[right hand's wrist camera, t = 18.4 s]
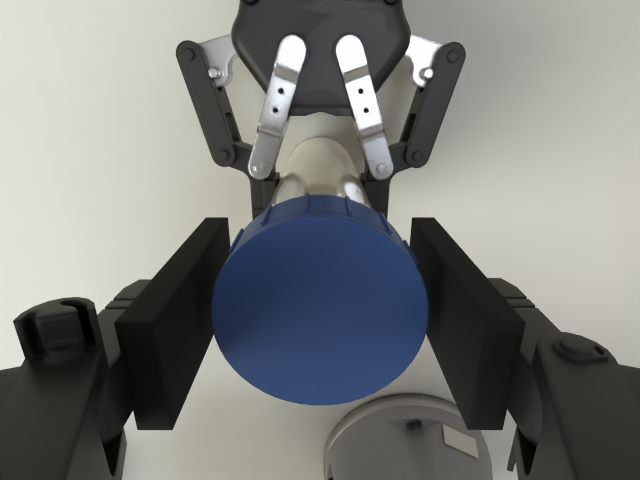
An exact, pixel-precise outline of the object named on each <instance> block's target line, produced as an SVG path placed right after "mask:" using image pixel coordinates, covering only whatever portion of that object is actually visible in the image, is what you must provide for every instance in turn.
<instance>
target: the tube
mask: <svg viewBox="0 0 640 480" xmlns="http://www.w3.org/2000/svg"><path fill="white" fill-rule="evenodd" d="M305 193H309V195H333V196H340V197H344V198H345V196H346V195H347V196H349V197H350V199H351V200H354V201H357V202H359V203H361V204H364V205H366V206H367V207H369V208H371V209H373V208H372V206H371V204H370V201H369V199H368V197H367V194H366V192H365V190H364V187H363V185H362V183H361V180H360V178H359V176H358V174H357V171H356V169H355V167H354V164H353V162H352V160H351V157H350V155H349V153H348V152H347V150H346V149H345V148H344V147H343V146H342V145H341V144H340V143H338V142H336V141H335V140H332V139H329V138H325V137H315V138H311V139H308V140H305V141H304V142H302V143H301V144H299V145H298V146H297V147H296V148H295V149H294V150H293V152H292V154H291V155H290V157H289V160H288V162H287V164H286V167H285V169H284V171H283V173H282V176H281V178H280V180H279V183H278V185H277V187H276V190H275V192H274V194H273V196H272V199H271V201H270V203H269V205H270V204H271V205H272V206H274V205H276V204H278V203H281V202H283V201H286V200H288V199H292V198H296V197H300V196H305Z"/></svg>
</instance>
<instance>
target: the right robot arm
mask: <svg viewBox="0 0 640 480" xmlns="http://www.w3.org/2000/svg"><path fill="white" fill-rule="evenodd" d="M229 249H230V237H229V226H228V218H205V219H204V220H203V222H202V223H201V224H200V225H199V226H198V227H197V228H196V230H195V231H194V232H193V233H192V234H191V235H190V236H189V238H188V239H187V240H186V241H185V242H184V243H183V244H182V246H181V247H180V248H179V249H178V250H177V251H176V252H175V254H174V255H173V256H172V257H171V258H170V259H169V260H168V262H167V263H166V264H165V265H164V266H163V267H162V268H161V270H160V271H159V272H158V273H157V274H156V275H155V276H154V277H153V279H152V280H138V281H136V282H134V283H132V284H131V285H129V286H127V287H125V288H123V290H122V291H121V292H120V293H119V294H118V295H117V296H116V297H115V298H114V300H113V301H111V302H110V303H109V304H108V305H107V306H106V307H105V309H103V310H102V311H101V312H100V313H99V314H98V315H97V313H96V309H95V305H94V302H92V301H91V300H89V299H86V298H80V297H72V298H62V299H57V300H52V301H48V302H45V303H42V304H40V305H37V306H34V307H32V308H30V309H28V310H27V311H25V312H23V313H21V314H20V315H19V316H18V317H17V318H16V319H15V320H14V321H13V323H14V326H15V329H16V332H17V335H18V338H19V341H20V344H21V347H22V350H23V353H24V356H25V360H24V362H23V364H22V365H21V366H20V367H15V368H10V369H5V370H0V480H122V474H123V467H124V460H125V453H126V445H127V442H126V435H125V431H124V427H123V426H124V425H125V423H126V421H127V420H128V418H129V416H130V414H131V413H132V411H134V416H135V420H136V425H137V429H138V430H173V428H174V425H175V423H176V421H177V418H178V416H179V414H180V411H181V409H182V407H183V404H184V402H185V400H186V397H187V395H188V393H189V390H190V388H191V386H192V383H193V381H194V379H195V376H196V374H197V372H198V370H199V367H200V365H201V363H202V360H203V358H204V356H205V353H206V351H207V349H208V346H209V344H210V342H211V339H212V337H213V335H214V332H213V328H212V323H211V298H212V293H213V288H214V287H213V285H214V282H215V280H216V279H217V277H218V275H219V273H220V271H221V269H222V267H223V266H224V264H225V262H226V260H227V258H228V257H229V255H230V252H229ZM410 249H411V251H412V252H413V254H414V256H415V258H416V260H417V261H418V263H419V264H418V265H416V267H417V269H418V271H419V272H420V274H421V276H422V278H423V281H424V284H425V287H426V290H427V296H428V301H429V319H428V327H427V330H426V335H427V337H428V339H429V342H430V344H431V346H432V349H433V351H434V353H435V356H436V358H437V360H438V363H439V365H440V367H441V370H442V372H443V374H444V376H445V379H446V381H447V383H448V386H449V388H450V390H451V393H452V395H453V397H454V400H455V402H456V404H457V406H455V405H453V404H451V403H449V402H447V401H444V400H442V399H438V398H435V397H430V396H424V395H410V394H408V395H396V396H389V397H384V398H381V399H377V400H374V401H372V402H369V403H367V404H364V405H362V406H360V407H359V408H357V409H355V410H353V411H352V412H351V413H349V414H348V415H347V416H345V417H344V418H343V419H342V420H341V421H340V422H339V423H338V424H337V425H336V427H335V428H334V429H333V431H332V432H331V434H330V436H329V438H328V440H327V442H326V445H325V450H324V476H325V480H493V478H492V467H491V460H490V456H489V452H488V449H487V445H486V443H485V441H484V439H483V436H482V434H481V432H480V430H502V429H503V425H504V420H505V416H506V411H507V409H508V411H509V412H510V414H511V416H512V417H513V419H514V421H515V423H516V424H517V427H516V431H515V435H514V440H513V444H512V448H511V452H510V456H509V461H508V467H507V470H508V471H512V472H513V469H514V465H515V463H516V466H517V473H518V480H640V368H635V367H630V366H624V365H620V364H618V363H617V361H616V359H615V358H614V357H613V355H612V354H611V353H610V352H609V351H608V350H607V349H606V348H604V347H603V346H601V345H599V344H598V343H596V342H595V341H592V340H590V339H587V338H585V337H583V336H580V335H576V334H572V333H568V332H561V331H560V330H559V329H558V328H557V327H556V326H555V325H554V324H553V323H552V322H551V321H550V320H549V319H548V318H547V317H546V316H545V315H544V314H543V313H542V312H541V311H540V310H539V309H538V308H535V305H534V304H533V303H532V302H531V301H530V300H529V299H527V297H526V296H525V295H524V294H523V293H522V292H521V291H520V290H519V289H518V288H517V287H516V286H514V285H512V284H510V283H508V282H507V281H505V280H503V279H501V278H487V277H486V276H485V275H484V274H483V273H482V272H481V271H480V270H479V268H478V267H477V266H476V265H475V264H474V263H473V262H472V260H471V259H470V258H469V257H468V256H467V255H466V254H465V252H464V251H463V250H462V249H461V248H460V247H459V246H458V244H457V243H456V242H455V241H454V240H453V239H452V238H451V236H450V235H449V234H448V233H447V232H446V231H445V230H444V228H443V227H442V226H441V225H440V224H439V223H438V222H437V220H436V219H435V218H412V226H411V237H410Z"/></svg>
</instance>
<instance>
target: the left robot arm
mask: <svg viewBox="0 0 640 480" xmlns="http://www.w3.org/2000/svg"><path fill="white" fill-rule="evenodd" d="M238 56H239V57H240V59H241V60H242V61H243V63H244V64H245V65H246V67H247V68H248V70H249V71H250V72H251V74H252V75H253V77H254V78H255V79H256V81H257V82H258V83H259V85H260V86H261V88H262V89H263V90H264V92H265V93H266V98H265V101H264V105H263V109H262V112H261V116H260V119H259V123H258V127H257V134H256V138H255V142H254V145H253V146H252V145H250V144H247V143H244V142H242V139H241V136H240V133H239V130H238V127H237V124H236V121H235V118H234V115H233V112H232V109H231V106H230V103H229V99H228V96H227V93H226V90H225V87H224V86H226V85H228V84H229V83H230V82H231V80H232V77H233V73H232V64H233V61H234V60H235V59H236V58H237V57H238ZM465 56H466V53H465V49H464V47H463V46H462V45H461V44H460V43H457V42H451V43H446V44H441V43H437V42H434V41H431V40H428V39H424V38H421V37H418V36H415V35H411V32H410V27H409V24H408V22H407V20H406V17H405V14H404V10H403V4H402V0H240V5H239V11H238V14H237V17H236V20H235V22H234V24H233V27H232V31H231V34H229V35H226V36H222V37H219V38H216V39H212V40H209V41H206V42H202V43H195V42H192V41H188V40H187V41H183V42H181V43H180V44H179V45H178V47H177V49H176V57H177V60H178V63H179V66H180V69H181V71H182V74H183V77H184V80H185V83H186V85H187V88H188V91H189V94H190V97H191V99H192V102H193V105H194V108H195V111H196V113H197V116H198V119H199V122H200V125H201V127H202V130H203V133H204V136H205V139H206V141H207V144H208V147H209V150H210V153H211V155H212V158H213V160H214V162H215V163H216V164H217V165H219V166H222V167H227V166H229V167H232V168H235V169H237V170H240V171H242V172H244V173H245V174H246V175H247V176H248V178H249V180H250V184H251V200H252V215H253V220H254V219H255V218H256V217H257V216H259V215H260V214H261V213H263V212H264V211H265V210H266V209H267V206H268V205H269V203H270V201H271V199H272V196H273V194H274V192H275V190H276V187H277V185H278V183H279V180H280V172H276V170H275V164H276V161H277V157H278V154H279V151H280V147H281V144H282V141H283V138H284V135H285V132H286V129H287V126H288V123H289V120H290V116H306V115H309V114H313V113H316V112H325V113H329V114H332V115H336V116H351V119H352V122H353V125H354V128H355V131H356V134H357V137H358V140H359V144H360V147H361V150H362V154H363V157H364V160H365V172H364V173H361V174H360V180H361V183H362V185H363V187H364V190H365V192H366V194H367V197H368V199H369V201H370V204H371V206H372V208H373V210H374V211H376V212H377V213H378V214H380V213H381V212H382V213H383V214H384V215H385V217H386V219H387V214H388V199H389V184H390V180H391V178H392V177H393V176H394V175H395V174H396V173H397V172H399V171H402V170H405V169H408V168H411V167H413V168H420V167H422V166H424V165H425V164H426V163H427V161H428V159H429V157H430V154H431V151H432V148H433V146H434V143H435V140H436V137H437V135H438V132H439V129H440V126H441V124H442V121H443V118H444V115H445V113H446V110H447V107H448V104H449V102H450V99H451V96H452V93H453V91H454V88H455V85H456V82H457V80H458V77H459V74H460V71H461V69H462V66H463V63H464V61H465ZM402 57H404V58H406V59H407V61H408V62H409V65H410V71H409V79H410V82H411V83H412V84H413V85H414V86H416V87H417V89H416V92H415V95H414V98H413V101H412V104H411V107H410V110H409V113H408V116H407V119H406V122H405V125H404V128H403V131H402V134H401V138H400V141H399V142H398V143H395V144H393V145H390V146H388V144H387V141H386V137H385V133H384V125H383V121H382V118H381V114H380V110H379V107H378V103H377V99H376V96H375V94H376V93H377V92H378V90H379V89H380V87H381V86H382V85H383V83H384V82H385V81H386V79H387V78H388V77H389V75H390V74H391V72H392V71H393V70H394V68H395V67H396V66H397V64H398V63H399V62H400V60H401V59H402Z"/></svg>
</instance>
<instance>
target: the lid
mask: <svg viewBox="0 0 640 480" xmlns="http://www.w3.org/2000/svg"><path fill="white" fill-rule="evenodd" d="M229 252H230V255H229V257H228V258H227V260H226V262H225V264H224V266H223V267H222V269H221V271H220V273H219V275H218V277H217V279H216V280H215V282H214V285H213V287H214V288H213V293H212V298H211V323H212V328H213V332H214V336H215V339H216V341H217V344H218V346H219V348H220V350H221V352H222V353H223V355H224V357H225V359H226V360H227V361H228V363H229V364H230V365H231V366H232V368H233V369H234V370H235V371H236V372H237V373H238V374H239V375H240V376H241V377H242V378H244V379H245V380H246V381H247V382H249V383H250V384H251V385H253V386H254V387H256V388H258V389H259V390H261V391H263V392H265V393H267V394H269V395H272V396H274V397H276V398H279V399H282V400H285V401H289V402H294V403H299V404H307V405H333V404H341V403H346V402H351V401H354V400H357V399H360V398H363V397H366V396H368V395H370V394H373V393H375V392H377V391H378V390H380V389H382V388H384V387H385V386H387V385H388V384H389V383H391V382H392V381H394V380H395V379H396V378H397V377H398V376H399V375H400V374H401V373H402V372H404V371H405V369H406V368H407V367H408V366H409V365H410V363H411V362H412V361H413V359H414V358H415V356H416V354H417V353H418V351H419V349H420V347H421V345H422V343H423V340H424V337H425V334H426V330H427V327H428V319H429V301H428V296H427V290H426V287H425V284H424V281H423V278H422V276H421V274H420V272H419V271H418V269H417V267H416V265H418V264H419V263H418V261H417V260H416V258H415V256H414V254H413V252H412V251H411V249H410V247H409V245H408V243H407V242H406V240H404V241H402V239H401V237H400V236H399V234H398V233H397V231H396V230H395V229H394V227H393V226H392V225H391V224H390V223H389V222H388V221H387V219H386V217H385V215H384V214H383V213H382V212H381V213H380V214H378V213H377V212H376V211H374V210H373V209H371V208H369V207H367V206H366V205H364V204H361V203H359V202H357V201H354V200H351V199H350V197H349V196H347V195H346V196H345V198H344V197H340V196H333V195H309V193H305V196H300V197H296V198H292V199H288V200H286V201H283V202H281V203H278V204H276V205H274V206H272V205H271V204H270V205H268V206H267V209H266V210H265V211H264V212H263V213H261V214H260V215H259V216H257V217H256V218H255V219H254V220H253V221H252V222H251V223H250V224H249V225H248V226H247V227H246V228H245V230H243V229H241V230H240V231H239V233H238V235H237V237H236V239H235V240H234V242H233V244H232V246H231V248H230V249H229Z"/></svg>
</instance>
